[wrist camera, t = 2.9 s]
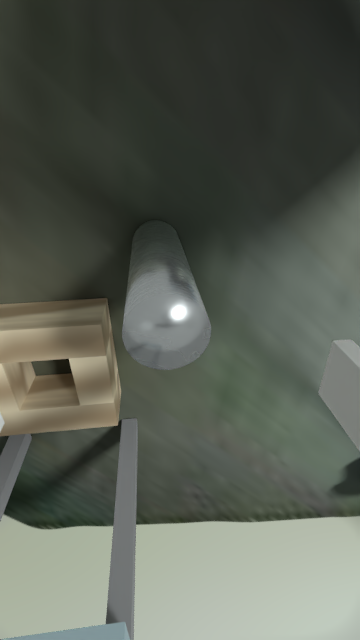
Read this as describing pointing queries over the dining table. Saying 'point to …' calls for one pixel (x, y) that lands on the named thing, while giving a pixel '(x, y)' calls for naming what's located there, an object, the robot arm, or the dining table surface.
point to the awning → (120, 606)
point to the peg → (162, 302)
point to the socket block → (59, 389)
